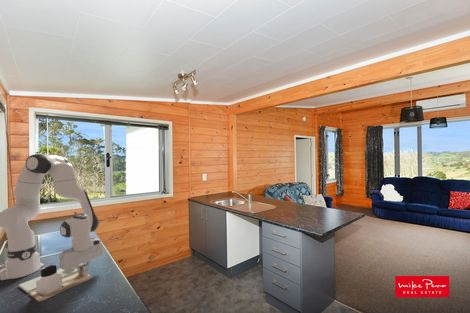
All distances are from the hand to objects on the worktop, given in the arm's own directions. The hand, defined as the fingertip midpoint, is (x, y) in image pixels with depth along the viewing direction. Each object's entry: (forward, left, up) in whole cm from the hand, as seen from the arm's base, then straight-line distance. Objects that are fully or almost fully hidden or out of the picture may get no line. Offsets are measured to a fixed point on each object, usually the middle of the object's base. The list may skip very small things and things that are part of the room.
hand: (83, 270), depth 125 cm
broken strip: (-14, -10, -4) cm, 18 cm away
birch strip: (0, -10, -4) cm, 11 cm away
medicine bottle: (0, -15, -4) cm, 15 cm away
